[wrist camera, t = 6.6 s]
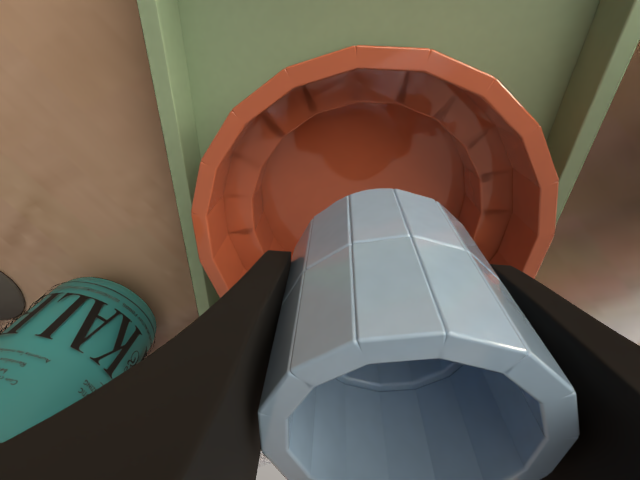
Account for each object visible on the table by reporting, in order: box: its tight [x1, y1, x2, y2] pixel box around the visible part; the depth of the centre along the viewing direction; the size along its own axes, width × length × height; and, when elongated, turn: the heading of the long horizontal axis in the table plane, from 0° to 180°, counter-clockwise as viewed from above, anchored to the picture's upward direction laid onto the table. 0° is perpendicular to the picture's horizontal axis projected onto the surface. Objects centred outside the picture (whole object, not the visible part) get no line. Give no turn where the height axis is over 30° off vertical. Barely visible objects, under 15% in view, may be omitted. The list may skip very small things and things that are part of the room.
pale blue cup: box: [257, 188, 580, 480], centre depth 8 cm, size 5×5×6 cm
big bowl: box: [191, 45, 559, 298], centre depth 15 cm, size 13×13×5 cm
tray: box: [137, 0, 640, 317], centre depth 15 cm, size 17×20×2 cm
